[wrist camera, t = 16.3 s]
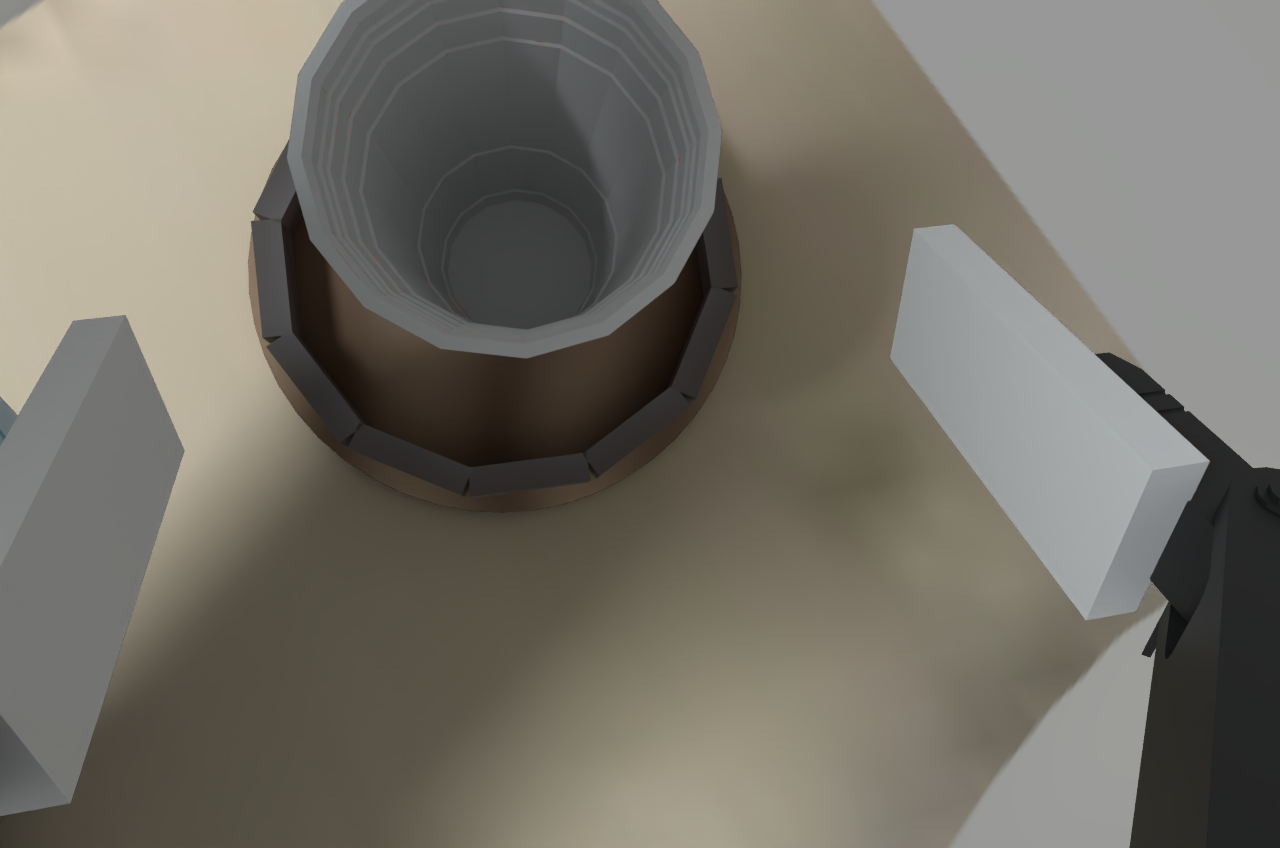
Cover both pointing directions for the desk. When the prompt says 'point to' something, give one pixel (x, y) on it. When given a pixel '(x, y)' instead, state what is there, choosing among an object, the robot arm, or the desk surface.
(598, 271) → the plastic cup
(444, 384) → the cup holder
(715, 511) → the desk surface
